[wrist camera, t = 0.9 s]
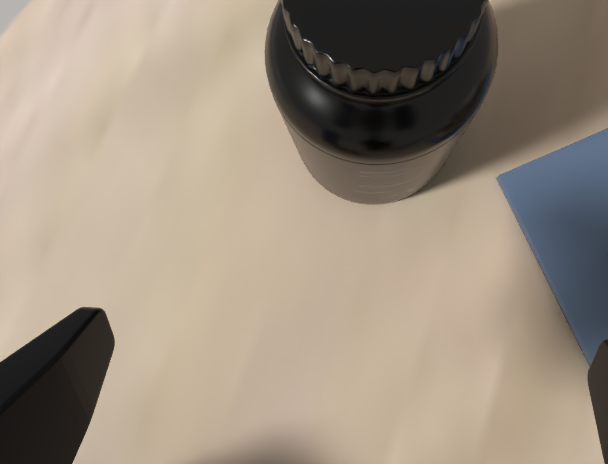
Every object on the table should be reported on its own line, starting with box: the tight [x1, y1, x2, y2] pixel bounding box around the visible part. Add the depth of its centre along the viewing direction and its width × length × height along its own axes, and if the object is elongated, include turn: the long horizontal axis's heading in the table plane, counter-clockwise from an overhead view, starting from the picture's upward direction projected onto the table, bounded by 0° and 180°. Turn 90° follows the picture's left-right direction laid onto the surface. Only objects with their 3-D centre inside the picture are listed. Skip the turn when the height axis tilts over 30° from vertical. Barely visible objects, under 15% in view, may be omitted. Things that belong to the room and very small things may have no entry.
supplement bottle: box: [265, 0, 498, 205], centre depth 17 cm, size 7×7×12 cm
